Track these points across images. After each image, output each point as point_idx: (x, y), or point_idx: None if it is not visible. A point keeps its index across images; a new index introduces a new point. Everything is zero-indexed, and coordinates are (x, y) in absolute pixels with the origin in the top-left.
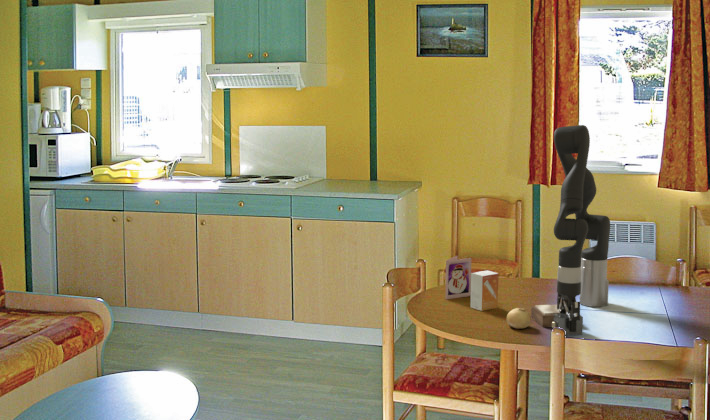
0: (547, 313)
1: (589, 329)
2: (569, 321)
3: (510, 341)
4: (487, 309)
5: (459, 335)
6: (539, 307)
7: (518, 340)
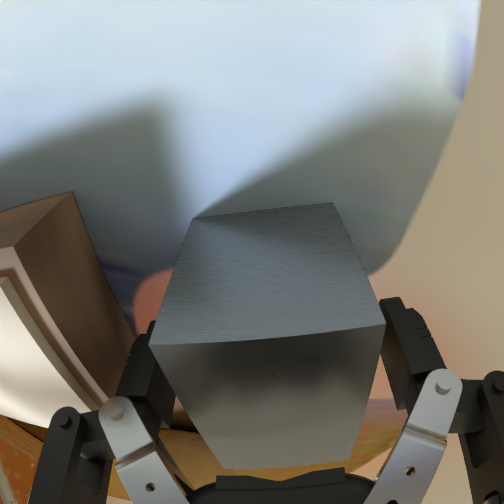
0: None
1: (160, 96)
2: (406, 402)
3: (362, 456)
4: (26, 432)
5: None
6: (21, 417)
7: (359, 447)
